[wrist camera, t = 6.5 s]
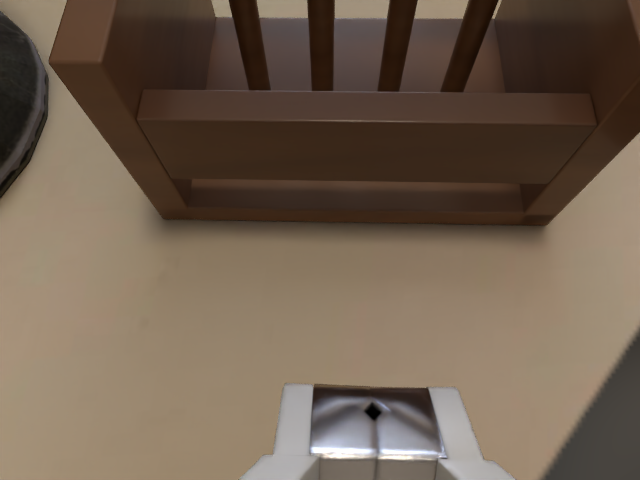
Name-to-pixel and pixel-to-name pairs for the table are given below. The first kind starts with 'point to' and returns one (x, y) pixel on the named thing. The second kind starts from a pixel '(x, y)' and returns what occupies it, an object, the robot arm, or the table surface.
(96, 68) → the rack
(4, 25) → the lantern
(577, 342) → the table surface
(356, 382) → the table surface
